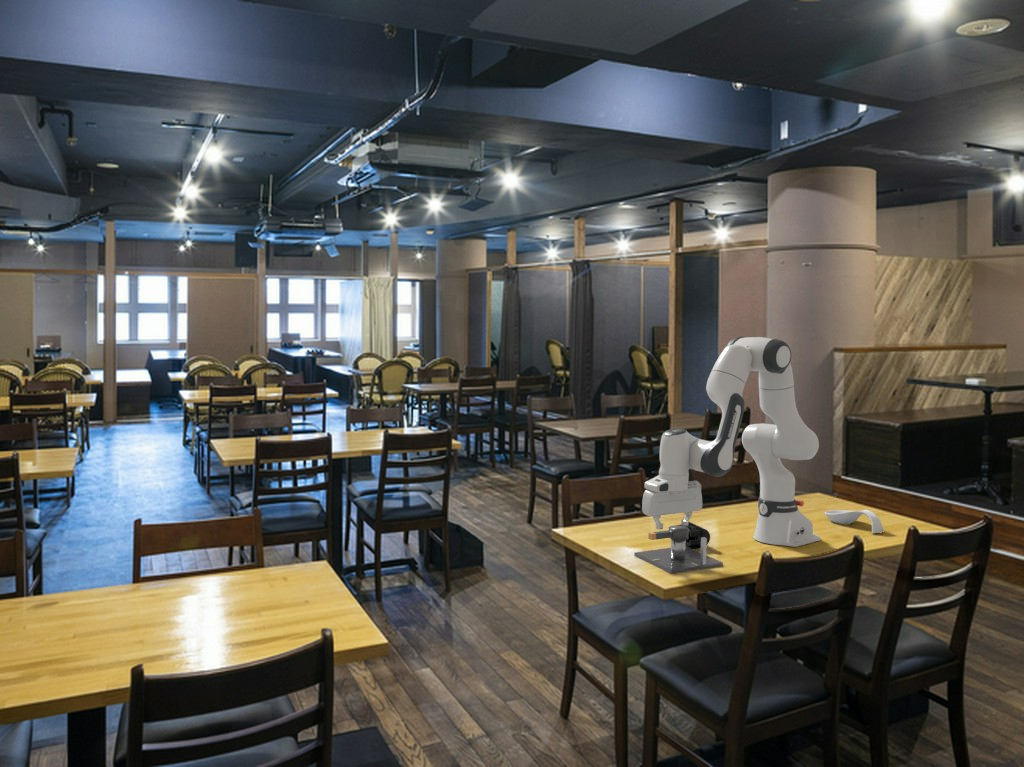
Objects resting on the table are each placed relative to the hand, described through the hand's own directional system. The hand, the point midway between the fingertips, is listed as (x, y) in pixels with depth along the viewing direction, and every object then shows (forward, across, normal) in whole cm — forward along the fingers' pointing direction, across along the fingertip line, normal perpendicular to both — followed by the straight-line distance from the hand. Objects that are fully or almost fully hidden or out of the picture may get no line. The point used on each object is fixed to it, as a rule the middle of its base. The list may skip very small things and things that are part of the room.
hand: (672, 527), depth 244 cm
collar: (+3, +1, 0) cm, 4 cm away
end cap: (+11, -18, -12) cm, 24 cm away
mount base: (+11, -2, 0) cm, 11 cm away
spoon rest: (+11, -88, -9) cm, 89 cm away
